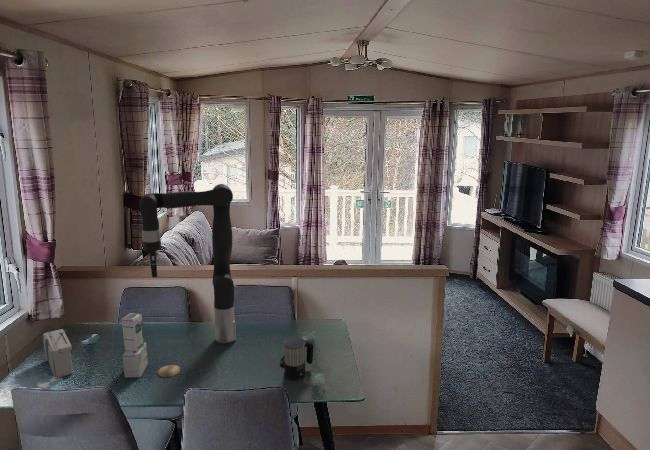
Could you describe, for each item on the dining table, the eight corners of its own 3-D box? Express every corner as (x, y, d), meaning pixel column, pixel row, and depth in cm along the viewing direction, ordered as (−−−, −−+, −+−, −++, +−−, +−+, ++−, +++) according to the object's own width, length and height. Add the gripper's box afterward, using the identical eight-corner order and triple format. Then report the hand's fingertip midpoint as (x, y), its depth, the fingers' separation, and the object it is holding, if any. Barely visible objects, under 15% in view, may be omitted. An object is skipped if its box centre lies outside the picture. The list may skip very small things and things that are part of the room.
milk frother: (297, 383, 198) (296, 350, 194) (267, 371, 206) (266, 340, 203) (316, 368, 210) (316, 336, 206) (287, 357, 218) (286, 327, 214)
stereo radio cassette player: (45, 360, 214) (39, 318, 209) (66, 354, 219) (60, 313, 214) (53, 381, 198) (47, 336, 193) (75, 374, 203) (70, 330, 198)
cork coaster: (179, 364, 211) (179, 363, 211) (180, 375, 203) (180, 374, 203) (157, 368, 208) (157, 367, 208) (158, 378, 200) (158, 377, 200)
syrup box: (137, 351, 200) (134, 319, 197) (124, 350, 201) (121, 317, 198) (144, 345, 206) (142, 313, 202) (132, 343, 207) (129, 312, 204)
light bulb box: (132, 364, 211) (130, 342, 209) (148, 364, 211) (146, 341, 209) (124, 377, 201) (121, 354, 198) (140, 377, 201) (138, 354, 198)
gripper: (161, 242, 209) (163, 278, 213) (160, 234, 222) (162, 268, 226) (142, 244, 207) (145, 280, 210) (142, 236, 220) (145, 269, 223)
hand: (154, 273), depth 218 cm, fingers open, 8 cm apart
